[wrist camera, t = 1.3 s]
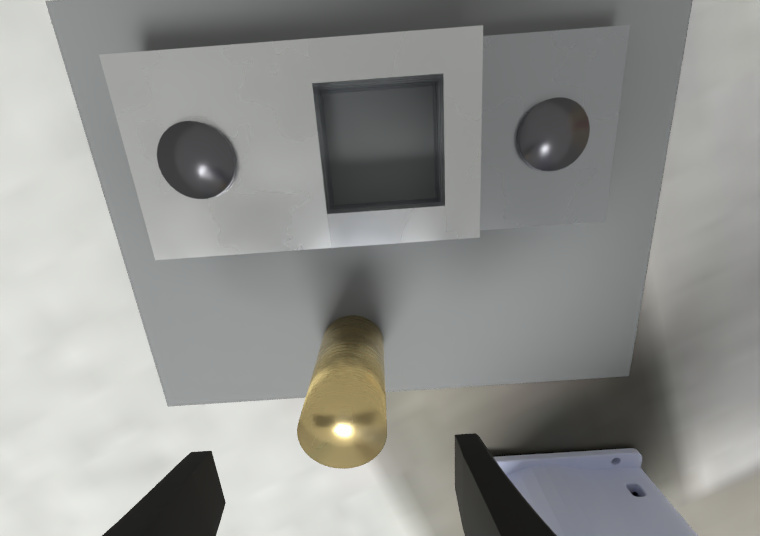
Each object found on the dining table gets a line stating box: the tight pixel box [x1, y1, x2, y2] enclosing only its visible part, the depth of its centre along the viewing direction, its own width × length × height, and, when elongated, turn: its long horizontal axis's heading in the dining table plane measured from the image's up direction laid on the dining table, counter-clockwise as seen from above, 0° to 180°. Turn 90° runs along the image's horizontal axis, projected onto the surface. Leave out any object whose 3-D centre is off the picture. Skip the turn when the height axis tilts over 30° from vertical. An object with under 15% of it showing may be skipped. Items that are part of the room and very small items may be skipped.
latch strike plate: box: [99, 25, 630, 260], centre depth 14 cm, size 18×7×3 cm, turn 94°
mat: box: [46, 0, 692, 406], centre depth 16 cm, size 24×18×1 cm
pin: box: [297, 315, 387, 468], centre depth 15 cm, size 3×3×6 cm
